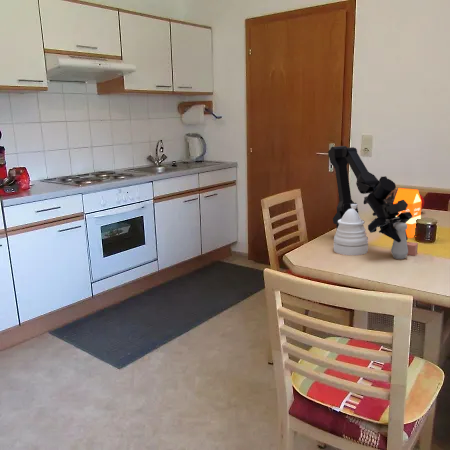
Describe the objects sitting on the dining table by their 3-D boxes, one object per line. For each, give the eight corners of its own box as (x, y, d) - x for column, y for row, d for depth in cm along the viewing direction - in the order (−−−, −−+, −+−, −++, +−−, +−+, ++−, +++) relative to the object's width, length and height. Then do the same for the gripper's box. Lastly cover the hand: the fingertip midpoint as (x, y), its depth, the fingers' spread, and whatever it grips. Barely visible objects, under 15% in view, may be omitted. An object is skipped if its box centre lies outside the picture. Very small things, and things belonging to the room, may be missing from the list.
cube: (403, 254, 168) (404, 244, 167) (405, 251, 171) (406, 241, 170) (414, 256, 166) (415, 245, 165) (417, 253, 169) (417, 242, 168)
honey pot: (344, 244, 185) (345, 201, 180) (373, 249, 176) (375, 204, 171) (327, 251, 176) (327, 206, 172) (356, 257, 167) (358, 210, 163)
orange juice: (411, 238, 189) (413, 190, 184) (391, 234, 195) (393, 189, 191) (420, 234, 194) (422, 188, 189) (400, 231, 200) (402, 186, 196)
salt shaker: (409, 260, 161) (410, 224, 158) (392, 259, 162) (393, 224, 159) (406, 255, 167) (407, 221, 164) (389, 254, 168) (391, 221, 165)
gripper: (375, 196, 158) (400, 233, 151) (409, 190, 167) (434, 224, 161) (357, 214, 166) (380, 250, 160) (391, 207, 176) (414, 240, 169)
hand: (403, 240), depth 162 cm, fingers closed on salt shaker, 3 cm apart
